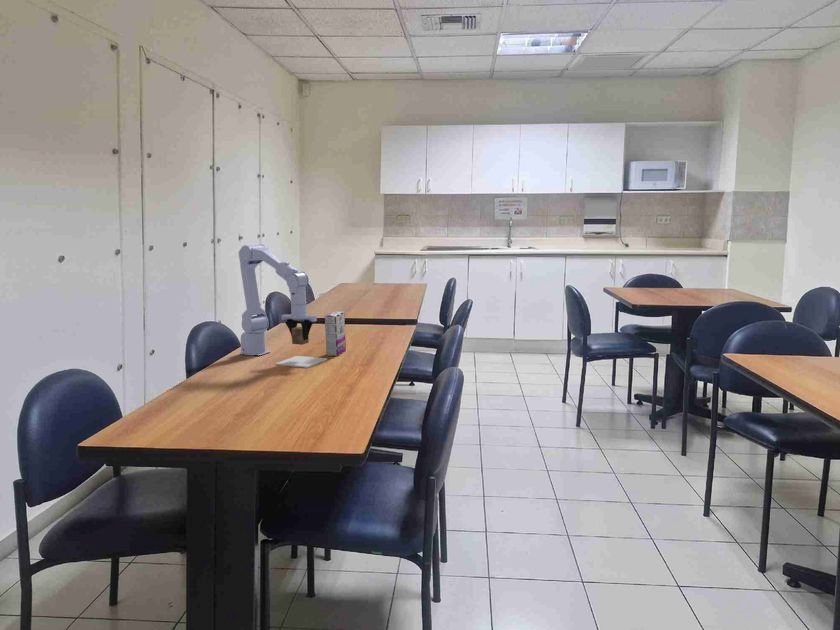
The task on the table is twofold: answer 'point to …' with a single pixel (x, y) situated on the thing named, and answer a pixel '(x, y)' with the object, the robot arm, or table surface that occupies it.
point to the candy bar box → (335, 333)
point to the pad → (301, 361)
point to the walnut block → (298, 336)
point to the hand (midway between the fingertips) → (300, 339)
